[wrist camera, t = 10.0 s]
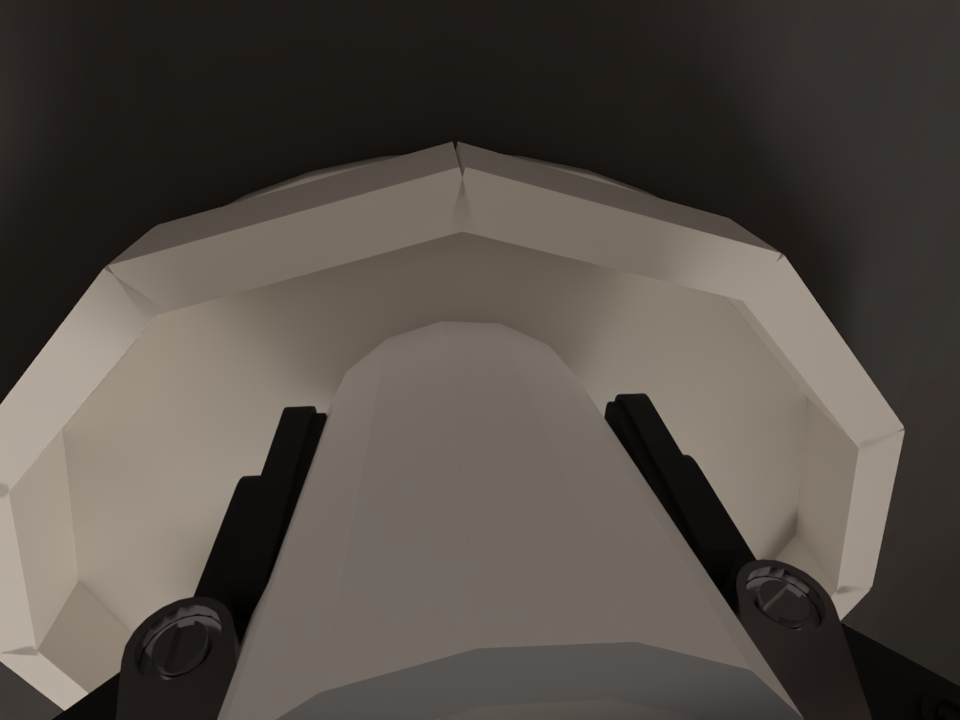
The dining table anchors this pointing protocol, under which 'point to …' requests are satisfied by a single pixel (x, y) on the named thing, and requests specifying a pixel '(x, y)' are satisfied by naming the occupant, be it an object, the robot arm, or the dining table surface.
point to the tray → (390, 312)
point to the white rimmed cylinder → (487, 559)
